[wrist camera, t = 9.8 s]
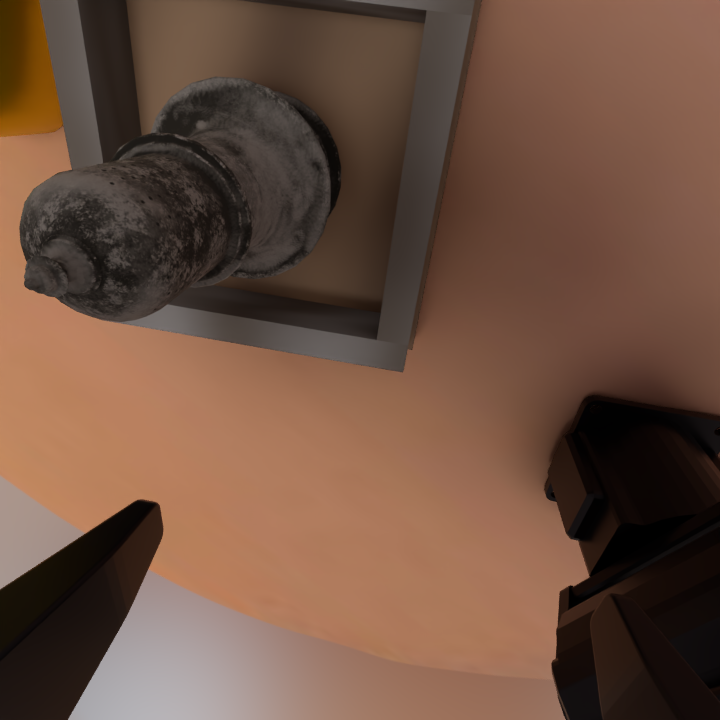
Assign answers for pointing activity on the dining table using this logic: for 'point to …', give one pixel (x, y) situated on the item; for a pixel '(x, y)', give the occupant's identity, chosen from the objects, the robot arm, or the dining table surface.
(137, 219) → the dark grey chess piece
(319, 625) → the dining table surface
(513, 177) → the dining table surface
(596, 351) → the dining table surface
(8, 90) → the element tile
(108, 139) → the socket
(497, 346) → the dining table surface
